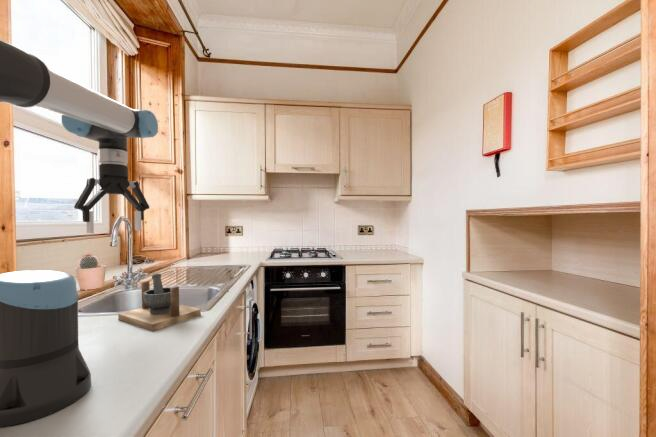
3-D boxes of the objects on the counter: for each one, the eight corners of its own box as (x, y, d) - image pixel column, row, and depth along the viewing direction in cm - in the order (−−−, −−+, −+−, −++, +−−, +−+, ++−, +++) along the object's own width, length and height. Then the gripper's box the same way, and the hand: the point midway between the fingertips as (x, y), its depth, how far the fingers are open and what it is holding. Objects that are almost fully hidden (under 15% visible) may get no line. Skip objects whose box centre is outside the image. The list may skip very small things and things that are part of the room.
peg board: (152, 331, 89) (151, 293, 89) (118, 319, 100) (117, 286, 99) (200, 315, 103) (199, 282, 103) (166, 306, 113) (165, 276, 113)
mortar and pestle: (180, 312, 100) (179, 275, 100) (147, 319, 94) (146, 280, 94) (171, 304, 108) (170, 270, 108) (140, 310, 102) (139, 274, 102)
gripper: (69, 157, 84) (72, 234, 85) (159, 168, 105) (161, 229, 106) (58, 160, 88) (61, 234, 88) (147, 170, 109) (149, 229, 110)
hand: (115, 231), depth 97 cm, fingers open, 13 cm apart
